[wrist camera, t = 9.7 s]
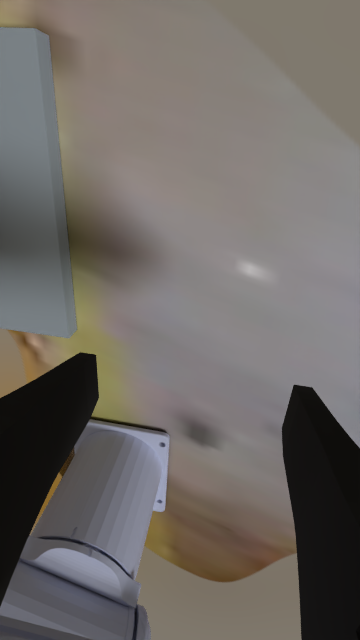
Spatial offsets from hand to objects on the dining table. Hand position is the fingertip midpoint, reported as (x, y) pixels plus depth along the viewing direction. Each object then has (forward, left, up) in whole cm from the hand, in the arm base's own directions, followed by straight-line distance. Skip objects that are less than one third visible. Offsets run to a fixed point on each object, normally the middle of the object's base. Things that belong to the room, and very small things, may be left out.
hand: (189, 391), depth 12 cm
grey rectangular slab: (+4, +16, -9) cm, 19 cm away
